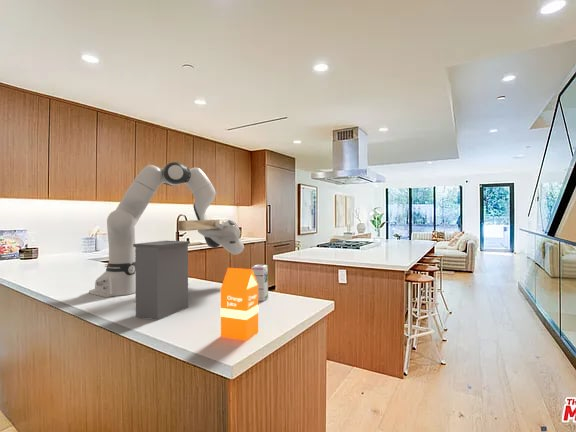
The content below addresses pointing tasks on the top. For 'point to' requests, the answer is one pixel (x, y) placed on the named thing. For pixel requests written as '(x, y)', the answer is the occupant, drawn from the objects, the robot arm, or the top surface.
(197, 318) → the top surface
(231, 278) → the orange juice
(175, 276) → the pedestal
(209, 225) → the maple bar
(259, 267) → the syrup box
